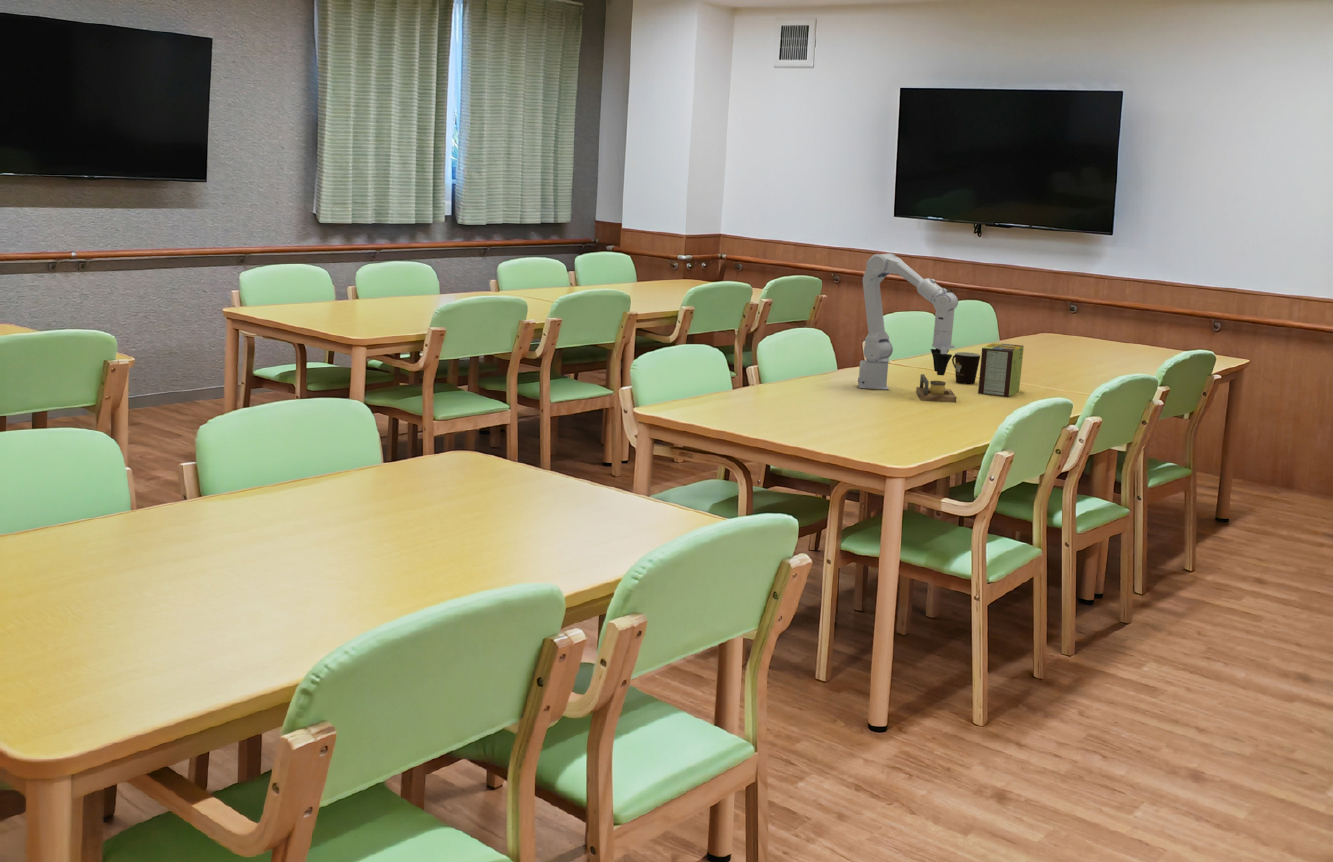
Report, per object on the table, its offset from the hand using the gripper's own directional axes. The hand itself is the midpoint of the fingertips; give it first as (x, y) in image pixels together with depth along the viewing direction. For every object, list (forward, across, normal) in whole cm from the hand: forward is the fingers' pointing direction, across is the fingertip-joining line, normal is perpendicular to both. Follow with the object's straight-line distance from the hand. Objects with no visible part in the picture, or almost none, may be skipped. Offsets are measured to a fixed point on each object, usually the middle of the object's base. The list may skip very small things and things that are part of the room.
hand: (939, 373), depth 386 cm
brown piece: (+8, 0, 0) cm, 8 cm away
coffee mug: (+8, +33, -13) cm, 37 cm away
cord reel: (+8, 0, 0) cm, 8 cm away
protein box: (+8, +16, -22) cm, 29 cm away
